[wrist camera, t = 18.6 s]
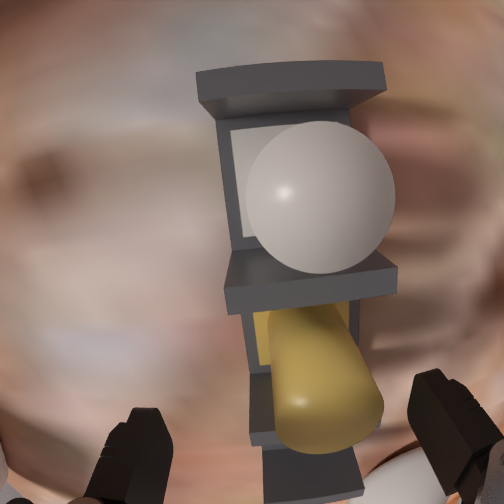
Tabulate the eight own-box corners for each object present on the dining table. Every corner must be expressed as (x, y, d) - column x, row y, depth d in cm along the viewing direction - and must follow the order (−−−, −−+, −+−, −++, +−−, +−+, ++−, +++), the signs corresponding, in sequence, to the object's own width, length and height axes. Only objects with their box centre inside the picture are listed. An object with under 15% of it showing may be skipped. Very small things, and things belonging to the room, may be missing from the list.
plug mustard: (263, 293, 15) (270, 388, 9) (337, 284, 15) (390, 368, 9) (271, 356, 16) (278, 459, 10) (338, 347, 16) (377, 443, 10)
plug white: (243, 144, 14) (235, 129, 7) (324, 136, 13) (388, 118, 7) (254, 225, 14) (256, 282, 8) (332, 215, 14) (397, 263, 8)
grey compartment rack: (215, 102, 14) (195, 72, 9) (340, 92, 14) (382, 62, 9) (263, 448, 20) (265, 510, 15) (346, 437, 20) (362, 495, 14)
